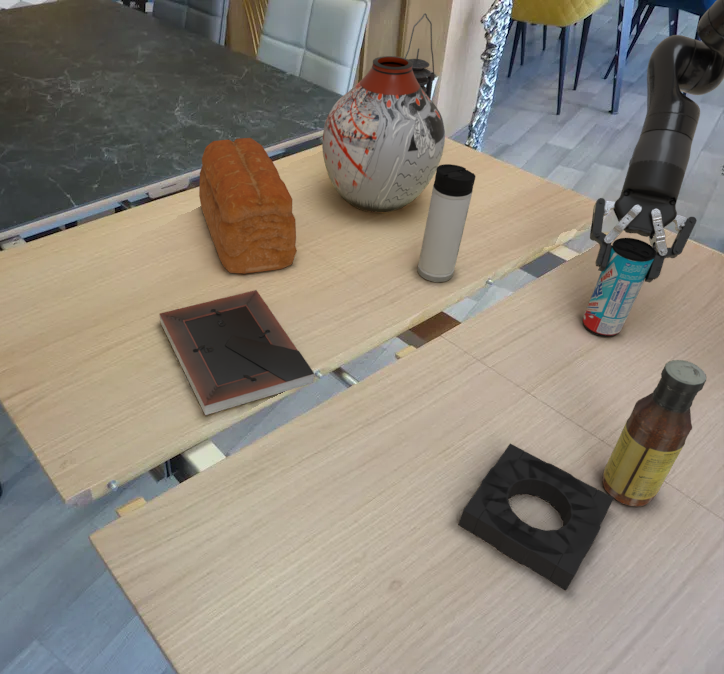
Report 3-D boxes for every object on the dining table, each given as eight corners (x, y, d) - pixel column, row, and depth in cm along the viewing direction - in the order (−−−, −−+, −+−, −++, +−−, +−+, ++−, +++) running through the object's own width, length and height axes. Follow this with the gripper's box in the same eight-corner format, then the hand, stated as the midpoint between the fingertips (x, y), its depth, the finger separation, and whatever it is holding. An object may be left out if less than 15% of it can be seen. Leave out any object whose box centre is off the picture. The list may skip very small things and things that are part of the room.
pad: (607, 512, 80) (615, 497, 78) (566, 592, 72) (575, 577, 71) (503, 457, 87) (509, 441, 85) (456, 524, 79) (461, 509, 77)
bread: (263, 196, 138) (264, 126, 128) (300, 268, 119) (304, 191, 109) (197, 203, 135) (192, 132, 126) (223, 278, 116) (220, 201, 106)
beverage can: (596, 311, 111) (628, 233, 101) (627, 330, 107) (664, 251, 97) (573, 323, 108) (604, 244, 98) (604, 343, 104) (640, 264, 95)
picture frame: (313, 385, 96) (256, 300, 111) (314, 372, 95) (256, 288, 109) (205, 417, 91) (160, 324, 106) (204, 405, 89) (159, 312, 104)
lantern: (407, 136, 162) (427, 2, 143) (438, 152, 156) (464, 14, 136) (368, 148, 157) (384, 11, 137) (399, 165, 150) (420, 24, 131)
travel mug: (408, 268, 119) (427, 164, 106) (438, 259, 122) (459, 156, 109) (430, 287, 115) (452, 181, 102) (460, 277, 117) (485, 172, 104)
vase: (422, 176, 146) (446, 43, 128) (440, 232, 129) (471, 87, 110) (316, 173, 146) (325, 40, 128) (320, 229, 129) (330, 83, 111)
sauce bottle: (659, 487, 83) (733, 372, 70) (642, 518, 80) (716, 403, 67) (607, 459, 87) (669, 344, 74) (588, 488, 83) (649, 373, 70)
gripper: (610, 149, 98) (578, 258, 97) (719, 169, 94) (686, 282, 93) (600, 168, 105) (570, 269, 105) (701, 187, 101) (670, 292, 100)
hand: (625, 275), depth 99 cm, fingers closed on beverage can, 6 cm apart
